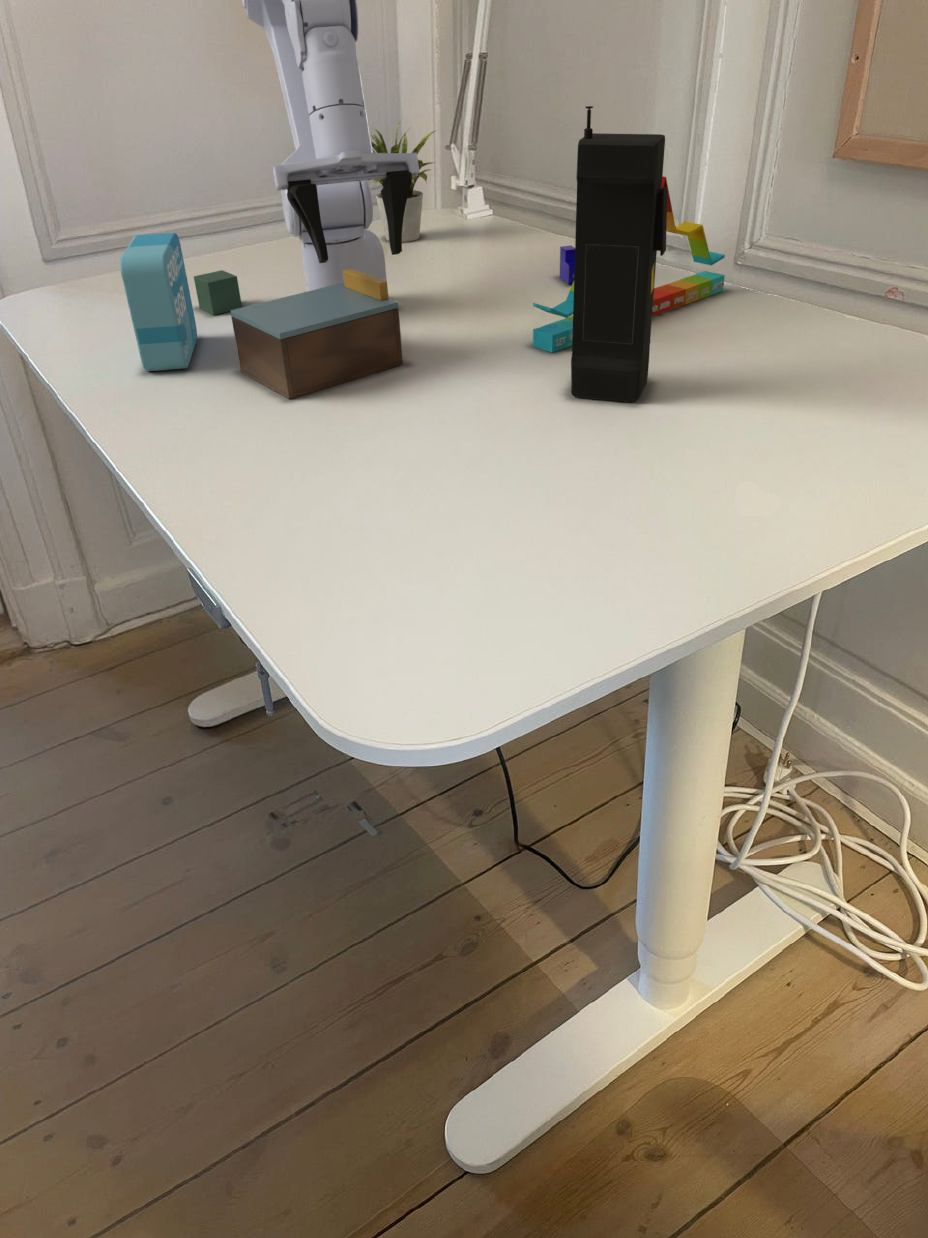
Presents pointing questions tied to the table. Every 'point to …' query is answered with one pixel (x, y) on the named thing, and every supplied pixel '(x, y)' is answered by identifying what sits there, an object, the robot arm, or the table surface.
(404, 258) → the table surface
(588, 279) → the portable radio
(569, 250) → the cable holder
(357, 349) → the case
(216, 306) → the block
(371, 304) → the sliding box lid
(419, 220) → the house plant
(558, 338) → the chart
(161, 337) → the data package
